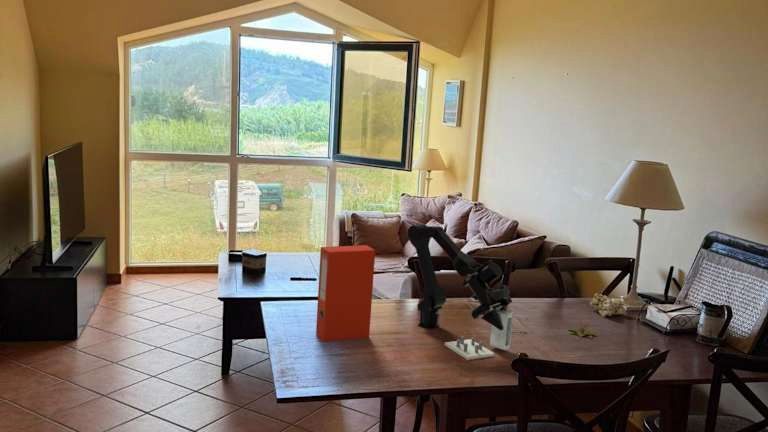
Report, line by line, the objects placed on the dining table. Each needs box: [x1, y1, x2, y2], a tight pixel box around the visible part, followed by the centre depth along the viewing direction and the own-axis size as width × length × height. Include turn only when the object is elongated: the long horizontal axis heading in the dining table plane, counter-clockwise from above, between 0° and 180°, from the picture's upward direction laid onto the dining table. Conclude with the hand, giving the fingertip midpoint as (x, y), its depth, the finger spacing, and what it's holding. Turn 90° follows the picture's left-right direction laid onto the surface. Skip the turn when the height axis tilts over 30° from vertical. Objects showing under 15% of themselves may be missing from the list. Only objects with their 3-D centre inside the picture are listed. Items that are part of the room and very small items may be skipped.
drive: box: [489, 309, 514, 351], centre depth 233 cm, size 6×4×12 cm, turn 49°
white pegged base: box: [444, 335, 495, 361], centre depth 231 cm, size 14×11×4 cm
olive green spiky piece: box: [568, 322, 598, 339], centre depth 257 cm, size 12×12×5 cm
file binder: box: [315, 244, 376, 343], centre depth 234 cm, size 8×17×32 cm, turn 116°
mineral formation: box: [589, 293, 628, 318], centre depth 286 cm, size 8×13×15 cm
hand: (504, 328), depth 232 cm, fingers closed on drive, 3 cm apart
